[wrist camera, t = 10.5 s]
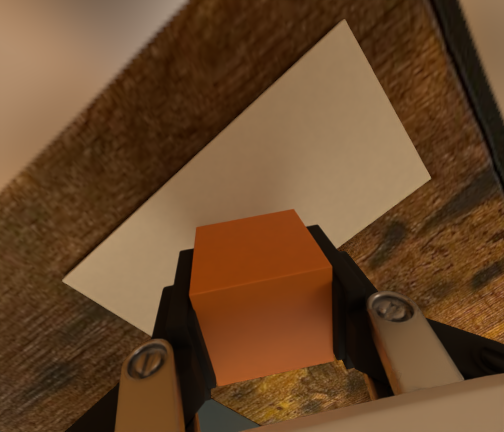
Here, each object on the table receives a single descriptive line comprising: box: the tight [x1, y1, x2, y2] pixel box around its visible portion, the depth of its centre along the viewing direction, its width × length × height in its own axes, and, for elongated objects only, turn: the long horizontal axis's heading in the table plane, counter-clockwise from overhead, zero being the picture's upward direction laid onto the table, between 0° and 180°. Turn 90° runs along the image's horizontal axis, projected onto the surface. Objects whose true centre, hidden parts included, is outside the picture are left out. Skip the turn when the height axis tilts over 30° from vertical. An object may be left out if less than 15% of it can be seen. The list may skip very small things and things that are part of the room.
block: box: [189, 209, 334, 386], centre depth 10 cm, size 4×4×4 cm
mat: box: [62, 19, 431, 336], centre depth 15 cm, size 18×9×1 cm, turn 130°
